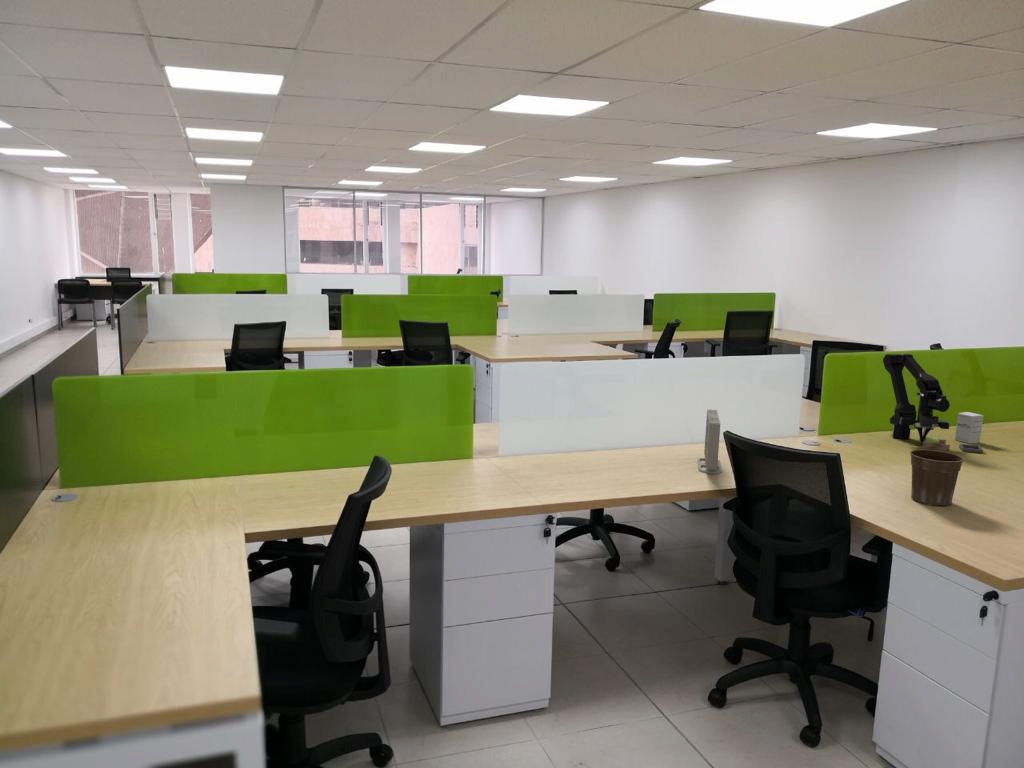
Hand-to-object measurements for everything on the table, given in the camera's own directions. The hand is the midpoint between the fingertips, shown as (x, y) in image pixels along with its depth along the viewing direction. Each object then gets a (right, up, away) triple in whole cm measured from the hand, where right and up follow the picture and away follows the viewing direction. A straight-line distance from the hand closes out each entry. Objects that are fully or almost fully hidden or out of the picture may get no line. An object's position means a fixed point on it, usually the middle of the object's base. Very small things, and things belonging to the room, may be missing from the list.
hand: (921, 442), depth 341 cm
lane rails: (+5, -2, -1) cm, 5 cm away
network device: (-103, -7, -39) cm, 110 cm away
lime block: (+3, -2, -1) cm, 4 cm away
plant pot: (-36, -15, -75) cm, 84 cm away
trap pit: (+18, -3, -6) cm, 19 cm away
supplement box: (+26, -1, +10) cm, 28 cm away
